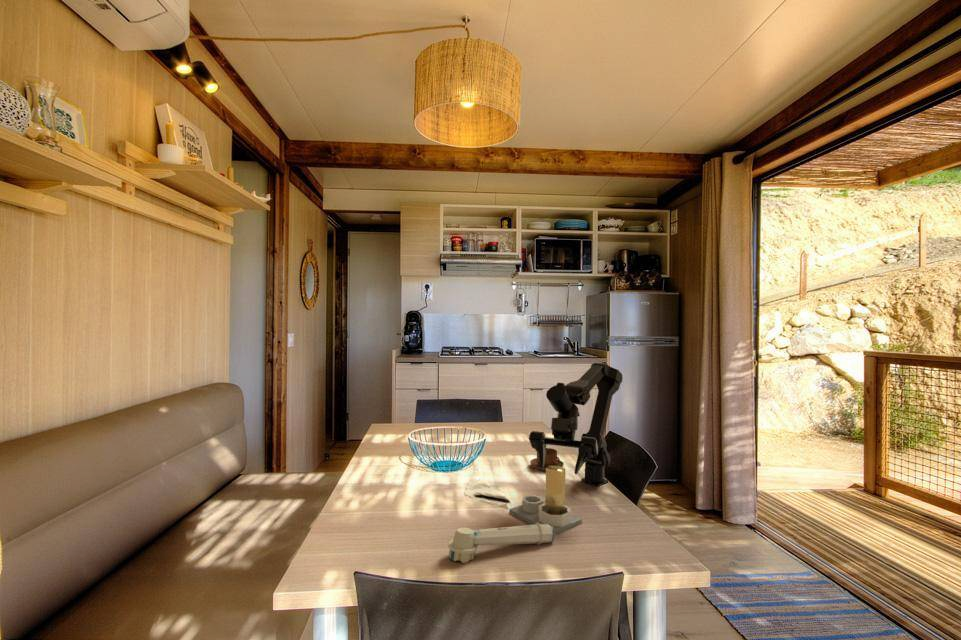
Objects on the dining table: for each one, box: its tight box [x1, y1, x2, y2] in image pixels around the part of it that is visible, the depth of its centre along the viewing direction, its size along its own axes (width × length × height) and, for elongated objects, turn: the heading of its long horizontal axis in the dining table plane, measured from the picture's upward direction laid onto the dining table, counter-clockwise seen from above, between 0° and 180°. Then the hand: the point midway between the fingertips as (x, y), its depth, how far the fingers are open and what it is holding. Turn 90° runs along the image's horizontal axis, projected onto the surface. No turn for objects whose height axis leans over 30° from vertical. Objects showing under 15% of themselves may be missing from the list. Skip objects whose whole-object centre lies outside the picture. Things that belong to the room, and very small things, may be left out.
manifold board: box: [508, 494, 583, 536], centre depth 114 cm, size 11×16×4 cm
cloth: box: [463, 477, 511, 510], centre depth 131 cm, size 26×14×2 cm, turn 13°
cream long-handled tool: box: [448, 523, 556, 564], centre depth 98 cm, size 5×7×25 cm
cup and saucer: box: [529, 447, 564, 472], centre depth 155 cm, size 12×12×6 cm
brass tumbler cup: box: [544, 466, 566, 515], centre depth 112 cm, size 5×5×13 cm
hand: (558, 471), depth 115 cm, fingers open, 9 cm apart
